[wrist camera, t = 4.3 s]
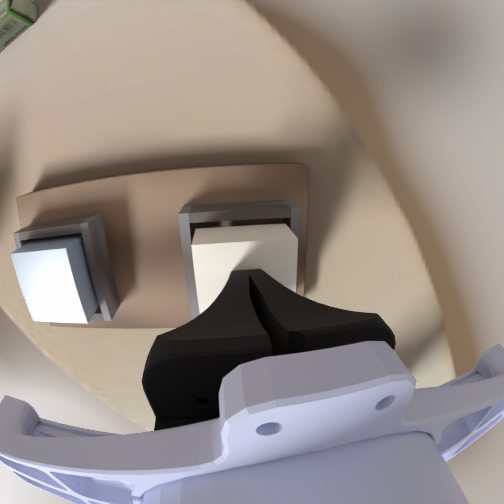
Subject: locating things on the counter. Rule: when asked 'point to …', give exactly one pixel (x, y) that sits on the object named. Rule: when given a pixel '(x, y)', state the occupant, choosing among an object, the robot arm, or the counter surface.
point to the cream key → (242, 256)
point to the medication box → (15, 19)
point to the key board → (161, 231)
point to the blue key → (56, 279)
